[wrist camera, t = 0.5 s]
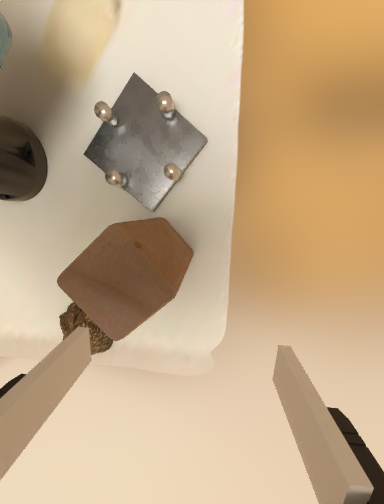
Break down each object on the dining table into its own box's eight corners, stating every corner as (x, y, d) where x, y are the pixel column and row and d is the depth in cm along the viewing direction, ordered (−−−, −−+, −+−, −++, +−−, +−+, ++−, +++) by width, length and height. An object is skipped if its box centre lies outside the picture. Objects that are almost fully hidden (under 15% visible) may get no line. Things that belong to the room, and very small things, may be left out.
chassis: (86, 156, 37) (69, 149, 33) (136, 74, 33) (125, 53, 29) (153, 214, 38) (146, 215, 34) (210, 141, 34) (210, 130, 30)
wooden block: (162, 215, 38) (110, 219, 18) (196, 253, 39) (180, 296, 19) (128, 247, 40) (48, 282, 21) (160, 283, 41) (113, 348, 21)
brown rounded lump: (117, 349, 46) (105, 366, 41) (69, 350, 47) (53, 366, 43) (107, 299, 43) (94, 310, 39) (57, 301, 45) (38, 312, 40)
